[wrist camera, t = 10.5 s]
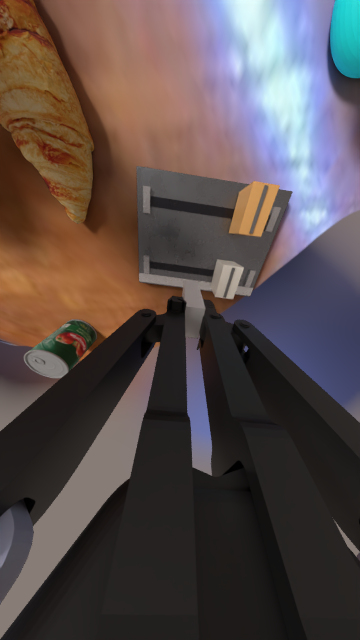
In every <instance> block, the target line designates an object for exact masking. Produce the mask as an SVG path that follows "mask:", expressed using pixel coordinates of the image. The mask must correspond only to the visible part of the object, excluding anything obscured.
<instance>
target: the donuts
mask: <svg viewBox="0 0 360 640" xmlns="http://www.w3.org/2000/svg"><path fill="white" fill-rule="evenodd" d="M330 46H331V53H332V58H333V61H334V63H335V65H336V67H337V69H338V70H339V71H340V72H341V73H342V74H343V75H345V76H347V77H350V78H360V0H335V4H334V8H333V13H332V20H331V29H330Z"/></svg>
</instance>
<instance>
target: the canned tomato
mask: <svg viewBox="0 0 360 640" xmlns="http://www.w3.org/2000/svg"><path fill="white" fill-rule="evenodd" d="M96 339H97V333H96V331H95V329H94V328H93V327H92V326H91V325H90V324H88V323H87V322H85V321H82V320H77V319H73V320H70V321H68V322H67V323H66V324H64V325H63V326H62V327H60V328H59V329H58V330H56V331H55V332H54V333H52V334H51V335H50V336H48V337H47V338H46V339H45V340H43V341H42V342H41V343H39V344H38V345H36V346H35V347H34V348H33V349H31V350H30V351H28V352H27V353H26V354H25V356H24V361H25V363H26V364H27V366H28V367H29V368H31V369H32V370H33V371H35V372H36V373H38V374H41V375H43V376H46V377H51V378H62V377H63V376H64V375H66V374H67V373H68V372H69V371H70V370H71V369H72V368H73V366H74V365H75V364H76V363H77V362H78V360H79V359H80V358H81V357H82V356H83V355H84V353H85V352H86V351H87V350H88V349H89V347H90V346H91V345H92V344H93V342H95V340H96Z"/></svg>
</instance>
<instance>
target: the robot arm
mask: <svg viewBox="0 0 360 640" xmlns="http://www.w3.org/2000/svg"><path fill="white" fill-rule="evenodd" d="M199 333H200V339H199V343H198V347H197V350H198V349H199V348H200V355H201V363H202V371H203V379H204V386H205V394H206V402H207V408H208V417H209V424H210V432H211V440H212V458H211V468H212V476H211V475H208V474H206V473H204V472H202V471H200V470H197V469H195V468H193V467H192V448H191V427H190V418H189V417H188V414H187V387H186V386H187V384H186V341H185V340H186V338H185V337H190V338H198V337H199ZM155 342H160V347H159V352H158V357H157V362H156V367H155V372H154V377H153V382H152V387H151V391H150V396H149V401H148V407H147V410H146V413H145V414H144V418H143V421H142V426H141V430H140V435H139V440H138V444H137V449H136V454H135V458H134V463H133V468H132V472H131V477H130V479H128V480H127V481H125V482H124V483H123V484H122V485H121V486H120V487H118V488H117V490H116V491H115V492H114V493H113V494H112V495H111V496H110V497H109V498H108V499H107V501H106V502H105V503H104V504H103V506H102V507H101V508H100V510H99V511H98V512H97V514H96V515H95V516H94V518H93V519H92V520H91V521H90V523H89V524H88V525H87V527H86V528H85V529H84V531H83V532H82V533H81V534H80V536H79V537H78V538H77V540H76V541H75V542H74V544H73V545H72V546H71V547H70V549H69V550H68V551H67V553H66V554H65V556H64V557H63V558H62V559H61V561H60V562H59V563H58V565H57V566H56V567H55V569H54V570H53V571H52V572H51V574H50V575H49V576H48V578H47V579H46V580H45V582H44V583H43V584H42V586H41V587H40V588H39V590H38V591H37V592H36V593H35V595H34V596H33V597H32V599H31V600H30V601H29V603H28V604H27V605H26V606H25V608H24V609H23V610H22V612H21V613H20V614H19V616H18V617H17V618H16V620H15V621H14V622H13V623H12V625H11V626H10V627H9V629H8V630H7V631H6V633H5V634H4V635H3V637H2V638H1V639H0V640H360V553H359V554H358V555H357V557H356V556H355V555H354V553H353V552H352V551H351V550H350V549H349V548H348V547H347V545H346V543H345V541H344V539H343V537H342V535H341V533H340V531H339V529H338V527H337V525H336V523H335V522H334V520H335V521H336V522H337V524H338V525H339V527H340V528H341V529H342V531H343V532H344V533H345V534H346V536H347V537H348V538H349V539H350V540H351V542H352V543H353V544H354V545H355V546H356V548H357V549H358V550H359V551H360V423H359V422H358V421H357V420H356V419H355V418H354V417H353V416H352V415H351V414H350V413H348V412H347V411H346V410H345V409H344V408H343V407H342V406H341V405H340V404H339V403H337V402H336V401H335V400H334V399H333V398H332V397H331V396H330V395H329V394H328V393H327V392H325V391H324V390H323V389H322V388H321V387H320V386H319V385H318V384H317V383H316V382H314V381H313V380H312V379H311V378H310V377H309V376H308V375H307V374H306V373H305V372H304V371H302V370H301V369H300V368H299V367H298V366H297V365H296V364H295V363H294V362H293V361H291V360H290V359H289V358H288V357H287V356H286V355H285V354H284V353H283V352H282V351H281V350H279V349H278V348H277V347H276V346H275V345H274V344H273V343H272V342H271V341H270V340H269V339H267V338H266V337H265V336H264V335H263V334H262V333H261V332H260V331H259V330H257V329H256V328H255V327H254V326H253V325H252V324H251V323H249V322H247V321H245V320H236V321H235V322H234V324H231V323H228V322H225V320H224V318H223V316H221V315H220V314H218V313H217V312H216V309H215V307H214V304H213V302H211V301H210V300H204V299H203V298H202V294H201V291H200V287H199V284H198V281H194V280H186V279H184V284H183V292H182V297H177V296H172V297H171V298H170V299H168V304H167V312H166V313H165V314H162V315H156V312H155V311H153V310H150V309H142V310H139V311H138V312H136V313H135V314H134V315H133V316H132V317H131V318H130V319H128V320H127V321H126V322H125V323H124V324H123V325H122V326H120V327H119V328H118V329H117V330H116V331H115V332H114V333H112V334H111V335H110V336H109V337H108V338H107V339H106V340H104V341H103V342H102V343H101V344H100V345H99V346H98V347H96V348H95V349H94V350H93V351H92V352H91V353H90V354H88V355H87V356H86V357H85V358H84V359H83V360H82V361H80V363H78V364H77V365H76V366H75V367H74V368H72V369H71V370H70V371H69V372H68V373H67V374H66V375H64V376H63V377H62V378H61V379H60V380H59V381H58V382H57V383H55V384H54V385H53V386H52V387H51V388H50V389H48V390H47V391H46V392H45V393H44V394H43V395H42V396H40V397H39V398H38V399H37V400H36V401H35V402H33V403H32V404H31V405H30V406H29V407H28V408H27V409H25V410H24V411H23V412H22V413H21V414H20V415H19V416H18V417H16V418H15V419H14V420H13V421H12V422H11V423H9V424H8V425H7V426H6V427H5V428H4V429H3V430H1V431H0V604H1V602H2V601H3V599H4V598H5V596H6V595H7V593H8V592H9V590H10V588H11V587H12V585H13V584H14V582H15V581H16V579H17V578H18V576H19V574H20V572H21V570H22V568H23V566H24V564H25V562H26V560H27V557H28V554H29V551H30V548H31V545H32V540H33V533H34V531H33V526H34V524H35V523H36V522H37V521H38V520H39V519H40V517H41V516H42V515H43V514H44V513H45V511H46V510H47V509H48V508H49V506H50V505H51V504H52V502H53V501H54V500H55V498H56V497H57V496H58V495H59V493H60V492H61V491H62V489H63V488H64V486H65V484H66V483H67V482H68V480H69V479H70V477H71V476H72V474H73V473H74V472H75V470H76V468H77V467H78V465H79V464H80V462H81V461H82V459H83V457H84V456H85V454H86V453H87V451H88V450H89V448H90V446H91V445H92V443H93V442H94V440H95V438H96V437H97V435H98V434H99V432H100V430H101V429H102V427H103V426H104V424H105V423H106V421H107V420H108V418H109V416H110V415H111V413H112V412H113V410H114V408H115V407H116V405H117V404H118V402H119V401H120V399H121V397H122V396H123V394H124V393H125V391H126V389H127V388H128V386H129V385H130V383H131V382H132V380H133V379H134V377H135V375H136V374H137V372H138V371H139V369H140V367H141V366H142V364H143V363H144V361H145V359H146V358H147V356H148V355H149V353H150V352H151V350H152V348H153V347H154V345H155ZM245 346H247V347H248V348H249V349H248V350H247V352H245V351H244V348H245ZM332 517H333V518H332ZM333 519H334V520H333Z"/></svg>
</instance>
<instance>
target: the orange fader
mask: <svg viewBox="0 0 360 640" xmlns="http://www.w3.org/2000/svg"><path fill="white" fill-rule="evenodd" d="M279 187H280V186H279V185H273V184H267V183H261V182H255V181H254V182H252V183H251V184H250V185H248V186H247V187H245V188H244V189H243V190H241V191H240V192H239V195H238V199H237V203H236V207H235V210H234V214H233V218H232V222H231V226H230V230H229V233H231V234H237V235H244V236H256V237H261V235H262V233H263V230H264V227H265V225H266V222H267V219H268V216H269V214H270V211H271V208H272V206H273V203H274V200H275V197H276V195H277V192H278V189H279Z"/></svg>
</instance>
